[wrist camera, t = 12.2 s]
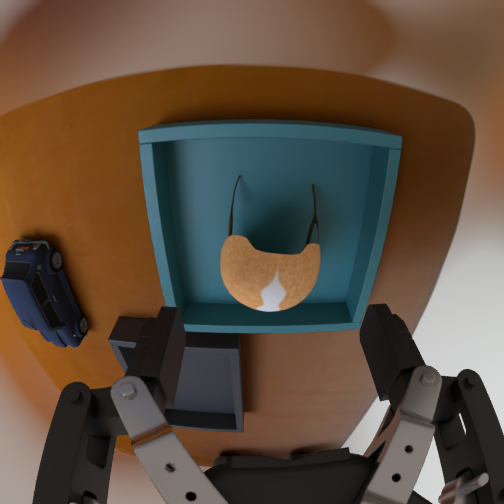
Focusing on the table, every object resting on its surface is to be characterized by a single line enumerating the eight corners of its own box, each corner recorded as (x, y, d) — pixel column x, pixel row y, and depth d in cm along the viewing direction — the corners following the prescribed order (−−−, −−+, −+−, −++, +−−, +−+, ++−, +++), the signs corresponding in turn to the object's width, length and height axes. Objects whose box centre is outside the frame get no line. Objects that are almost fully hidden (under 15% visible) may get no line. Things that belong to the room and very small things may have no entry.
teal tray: (155, 124, 16) (137, 130, 13) (381, 129, 16) (403, 136, 13) (179, 304, 23) (172, 330, 21) (349, 304, 23) (359, 329, 21)
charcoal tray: (118, 316, 24) (107, 339, 22) (240, 322, 24) (238, 349, 22) (159, 406, 33) (155, 425, 31) (243, 412, 33) (243, 432, 31)
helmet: (230, 192, 21) (218, 301, 20) (229, 153, 14) (211, 312, 13) (307, 201, 21) (299, 308, 20) (337, 168, 14) (329, 321, 14)
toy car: (53, 325, 26) (33, 360, 21) (14, 232, 20) (-21, 263, 15) (93, 332, 26) (73, 371, 21) (54, 230, 20) (17, 266, 15)
